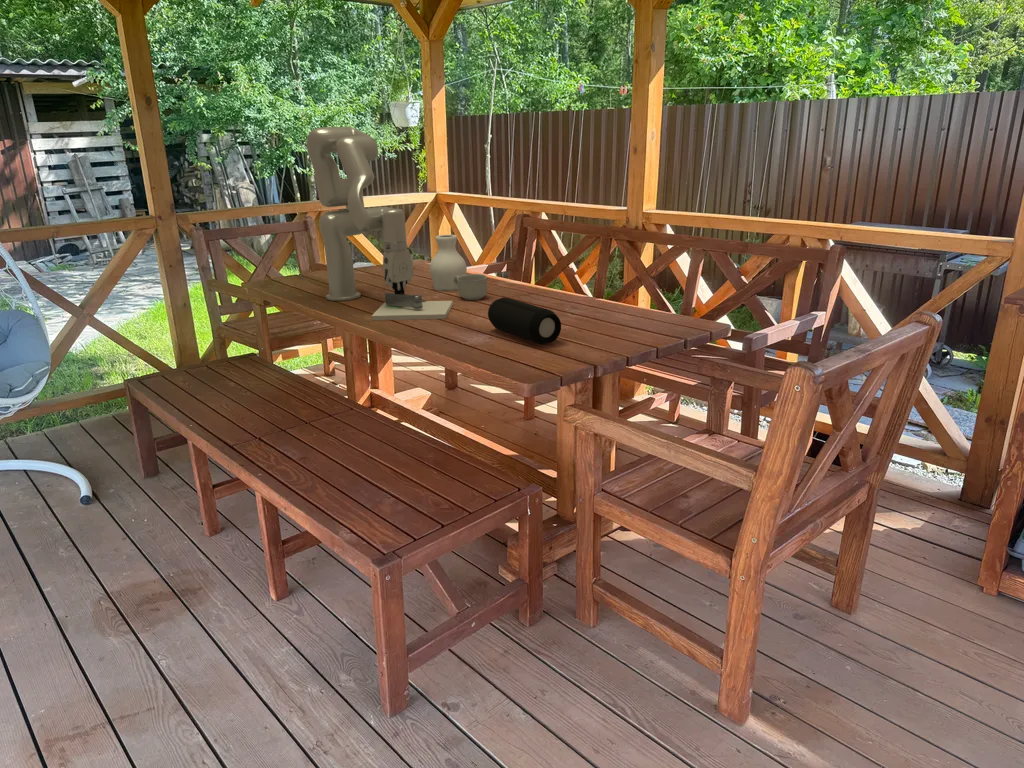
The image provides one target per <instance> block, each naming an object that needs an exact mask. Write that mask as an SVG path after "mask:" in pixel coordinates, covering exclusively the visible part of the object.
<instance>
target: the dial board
mask: <svg viewBox="0 0 1024 768" xmlns="http://www.w3.org/2000/svg"><path fill="white" fill-rule="evenodd" d="M422 305H423V308H420V309H414V308H412V307H403V306H393V305H386V301H385V302H383V303H382V304H381V305H380V306H379V308H377V310H376V311H374V313H373V314H372V315H371V321H402V320H403V321H407V320H409V321H411V320H446V318H447V317H448V314H449V313H450V311H451V309H452V307H453V305H454V304H453V300H433V301H432V300H429V301H427V300H425V299H422Z"/></svg>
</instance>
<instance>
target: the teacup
mask: <svg viewBox="0 0 1024 768" xmlns="http://www.w3.org/2000/svg"><path fill="white" fill-rule="evenodd" d="M487 279H488V275H486V274H482V273H470V274H469V273H468V274H467V273H466V275H462V276H456V277H454V284H455V286H456V287H457V288H458V290H457V291H458V294H459V296H460V297H461V298H463V299H464V300H465V301H477V300H481V299H482V298H484V296H486V294H487V293H488V280H487Z"/></svg>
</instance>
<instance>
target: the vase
mask: <svg viewBox="0 0 1024 768" xmlns="http://www.w3.org/2000/svg"><path fill="white" fill-rule="evenodd" d="M457 240H458V235H457V234H440V235H435V241H436V244H437V252H436V253H435V255H434V257H433V258H432V259H431V261H430V263H429V273H430V276H431V281H432V284H433V289H434V290H435V291H439V292H451V291H452V292H454V291H458V288H457V287H456V286H455V284H454V277H456V276H462V275H467V267H468V266H467V263H466V261H465V259H464V258H463V256H461V255H460V253H459V252H458V250H457V248H456V244H457Z"/></svg>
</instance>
